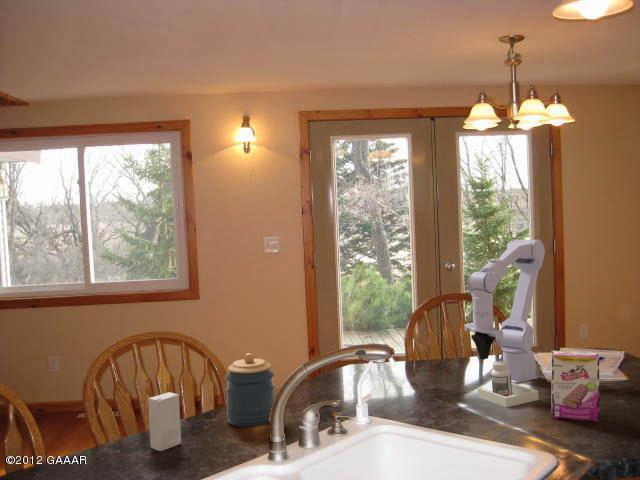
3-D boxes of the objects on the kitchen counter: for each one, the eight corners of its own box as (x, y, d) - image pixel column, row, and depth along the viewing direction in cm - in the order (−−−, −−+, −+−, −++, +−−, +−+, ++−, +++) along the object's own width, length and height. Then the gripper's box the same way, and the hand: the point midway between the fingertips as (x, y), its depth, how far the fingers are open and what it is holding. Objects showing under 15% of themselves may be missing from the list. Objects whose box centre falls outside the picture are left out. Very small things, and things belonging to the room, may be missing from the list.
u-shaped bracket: (509, 390, 178) (509, 381, 178) (538, 400, 168) (538, 391, 168) (477, 397, 173) (477, 388, 173) (505, 407, 163) (505, 398, 163)
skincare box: (171, 440, 148) (168, 391, 147) (182, 444, 145) (180, 394, 144) (149, 448, 143) (146, 397, 142) (160, 452, 140) (158, 400, 139)
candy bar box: (552, 419, 153) (550, 354, 152) (551, 412, 158) (550, 350, 157) (600, 422, 149) (599, 356, 149) (598, 416, 154) (597, 352, 153)
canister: (236, 431, 152) (233, 361, 151) (220, 417, 163) (217, 352, 163) (284, 421, 158) (281, 354, 157) (265, 408, 169) (262, 345, 169)
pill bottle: (499, 391, 176) (496, 358, 175) (516, 394, 172) (513, 361, 171) (489, 397, 172) (486, 363, 172) (506, 400, 168) (503, 366, 168)
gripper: (456, 310, 183) (457, 355, 184) (489, 317, 170) (490, 365, 171) (474, 308, 186) (475, 352, 187) (508, 315, 173) (509, 362, 174)
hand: (483, 358), depth 179 cm, fingers closed
